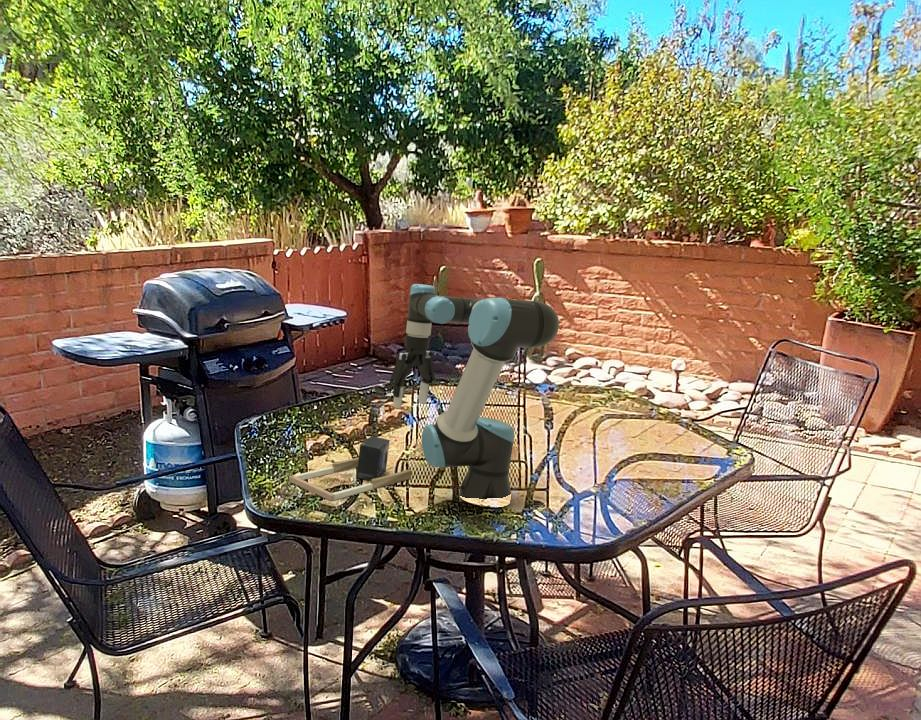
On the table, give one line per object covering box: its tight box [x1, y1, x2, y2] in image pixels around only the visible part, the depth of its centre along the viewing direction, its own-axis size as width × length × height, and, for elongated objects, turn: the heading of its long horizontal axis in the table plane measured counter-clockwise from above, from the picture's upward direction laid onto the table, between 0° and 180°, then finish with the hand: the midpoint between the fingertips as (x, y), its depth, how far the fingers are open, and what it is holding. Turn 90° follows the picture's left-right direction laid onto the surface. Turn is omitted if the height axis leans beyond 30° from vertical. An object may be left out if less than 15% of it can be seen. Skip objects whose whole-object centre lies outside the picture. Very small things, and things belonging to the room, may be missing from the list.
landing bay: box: [288, 466, 374, 502], centre depth 209 cm, size 17×16×2 cm
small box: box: [355, 435, 390, 482], centre depth 221 cm, size 11×6×10 cm, turn 168°
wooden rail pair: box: [331, 456, 413, 490], centre depth 222 cm, size 17×16×2 cm
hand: (409, 405), depth 230 cm, fingers open, 11 cm apart
